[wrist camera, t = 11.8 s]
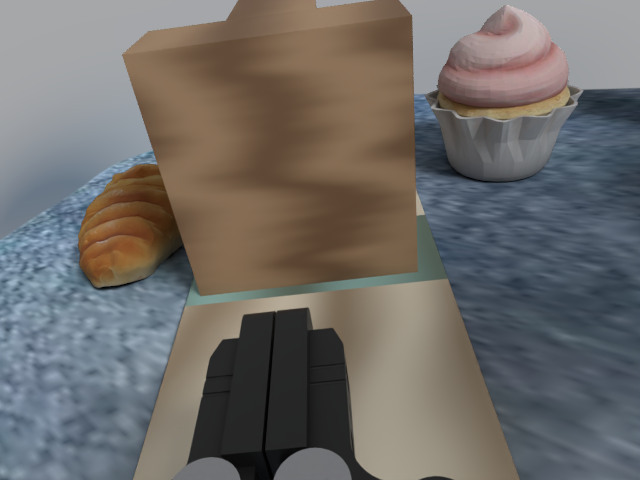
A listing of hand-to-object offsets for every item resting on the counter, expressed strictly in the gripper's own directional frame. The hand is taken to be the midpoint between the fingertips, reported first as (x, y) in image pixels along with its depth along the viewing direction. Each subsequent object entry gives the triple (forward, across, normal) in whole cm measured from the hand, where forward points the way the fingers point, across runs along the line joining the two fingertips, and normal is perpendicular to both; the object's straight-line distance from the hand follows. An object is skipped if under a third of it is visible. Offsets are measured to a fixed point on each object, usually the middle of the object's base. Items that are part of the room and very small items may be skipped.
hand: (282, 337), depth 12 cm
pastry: (+18, +11, +9) cm, 23 cm away
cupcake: (+23, -12, +9) cm, 28 cm away
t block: (+19, +1, +8) cm, 20 cm away
